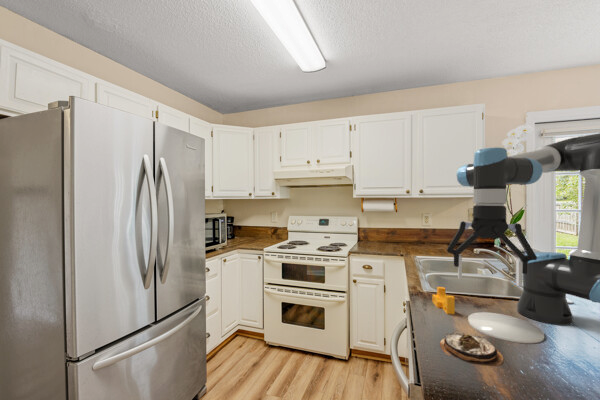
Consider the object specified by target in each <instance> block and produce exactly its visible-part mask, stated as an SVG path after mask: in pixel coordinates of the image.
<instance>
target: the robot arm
mask: <svg viewBox="0 0 600 400" xmlns="http://www.w3.org/2000/svg"><path fill="white" fill-rule="evenodd" d="M473 157H474V158H473V163H468V164H464V165H462V166H460V167H459V168H458V169H457V172H456V179H457V180H456V181H457V182H458V184H460V186H463V187H471V188H472V187H473V196H472V197H473V201H472V202H473V204H475V205H473V207H472V221H471V222H468V221H465V220H461V221H460V222H459V228H458V230H457V232H456V233H455V235H454V236H453V239H452V240H451V241H450V243H449V245H448V246H447V248H446V252H447V253H449V254H452V255H453V265H454V267H455V268H457V278H458V280H462V279H463V275H462V274H463V256H462V253H463V251H464V252H465V250H466V249H467V248H468V247H469V246H470V245H471V244H473V242H475V241H476V240H477V239H478V238H480V239H491V240H497V239H500V240H501V241H502V242H504V244H505V245H506V246H507V247H508V248H509V249H510V250H511V251H512V252H513V253H514V254H515V255H516V256H517V257H518V258H519V259H516V260H515V261H516V264H515V266H516V267H515V271H516V272H515V284H516V286H517V287H520V288H522V293H521V295H520V297H519V298H518V299H519V300H518V301H517V304H516V311H517V312H518V313H519V314H520V315H522V316H523V317H526V318H528V319H531V320H534V321H536V322H537V321H538V322H541V323H547V324H550V325H559V326H564V325H565V326H566V325H568V326H569V325H571V324H573V322H574V320H573V319H574V316H573V312H572V310H571V308H570V306H569V303H568V301H567V296H566V295H570V296H572V297H573V296H574V297H576V298H579V299H585V300H588V301H590V302H593V303H596V304H597V303H598V304H600V132H599V133H594V134H587V135H583V136H582V135H581V136H578V137H575V136H574V137H571V138H567V139H564V140H561V141H560V140H559V141H557V142H554V143H551V144H547V145H542V146H540V147H537V148H535V149H534V150H533V151H532V150H531V151H528V152H524V153H519V154H513V155H509V156H508V151H507V149H506V148H505V147H500V146H499V147H486V148H480V149H478V150H476V151H475V152H474V156H473ZM569 171H570V172H574V171H576V172H577V171H578V172H579V175H581V176H582V177H583V178H584V179H585V182H584V190H583V198H582V207H581V215H580V221H579V222H580V225H579V232H578V241H577V248H576V249H575V251H574V252H572V253H570V254H569V259H568V257H567V254H565V253H563V252H552V251H551V252H550V251H548V252H546V251H534V250H533V249H532V246H531V245H530V243H529V242H528V240H527V238H526V236H525V235H524V233H523V231H522V230H523V229H522V225H521V223H518V222H517V223H516V222H515V223H508V222H507V207H506V206H505V204H507V185H508V186H509V185H520V186H523V185H524V186H525V185H532V184H535V183H537V182H538V181H539V180H540V179H541V177H542V175H543V173H544V174H545V173H552V172H569ZM470 227H471V229H472V230H473V231H474V232H472V234H470V235H469V236H468V237H467V238H466V239H465V240H464V241H463V242H462V243H461V244H460V245H459V246H458V247H457V248H456V249H455V247H456V245H458V242H459V241H460V239H461V238H462V235H463V234H464V233H465V230H469V228H470ZM508 229H510V231H511V232H513V233H514V234H515V237H516V238H517V240H518V241H519V243H520V245H521V246H522V248H523V250H524V252H525V254H524V253H523V252H522V251H521V250H520V249H519V247H517V246H516V245H515V244H514V243H513V242H512V241H511V239H509V238H508V237H507V236H506V234H505V233H506V232H507V230H508Z"/></svg>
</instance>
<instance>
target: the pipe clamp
mask: <svg viewBox="0 0 600 400" xmlns="http://www.w3.org/2000/svg"><path fill="white" fill-rule="evenodd" d="M455 300H456V297H455V296H453V295H448V294H446V288H445V287H443V286H436V294H433V293H432V300H431V301H432V304H434V305H435V307H436V308H437V309H442V310H443V311H444V312H445V314H446V315H456V313H455V311H456V310H455V308H456V305H455V304H456V303H455V302H456V301H455Z"/></svg>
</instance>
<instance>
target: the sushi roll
mask: <svg viewBox="0 0 600 400" xmlns="http://www.w3.org/2000/svg"><path fill="white" fill-rule="evenodd" d="M439 347H440V348H441V350H442V351H443V352H444V353H445V354H446V355H448V356H449V357H451V356H453V357H455V358H460V359H461V360H463V361H467V362H469V363H475V364H478V365H479V364H480V365H492V366H499V365H502V363H503V362H504V357H503V355H502V353H501V351H499V350H498V349H497V348H496V347H495V346H494V345H493V344H492V343H490V342H489V340H487V339H486V338H484V337H481V335H478V334H476V335H475V334H474V335H473V334H469V333H465V332H455V331H453V332H452V333H446V334H445V337H444V338H442V339H441V340H440V341H439Z"/></svg>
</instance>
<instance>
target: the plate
mask: <svg viewBox="0 0 600 400" xmlns="http://www.w3.org/2000/svg"><path fill="white" fill-rule="evenodd" d="M467 320H468V324H469V325H470V327H472V328H473V329H474V330H476V331H477V332H480V333H481V334H484V335H487V336H488V337H492V338H495V339H497V340H502V341H506V342H513V343H518V344H536V343H537V344H538V343H541V342H543V341H544V339H545V333H544V331H543V330H542V329H541V328H540V327H538V326H537V325H534V324H533V323H531V322H529V321H527V320H524V319H521V318H519V317H514V316H511V315H507V314H502V313H497V312H486V311H485V312H484V311H482V312H474V313H471V314H469V315H468V319H467Z"/></svg>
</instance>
